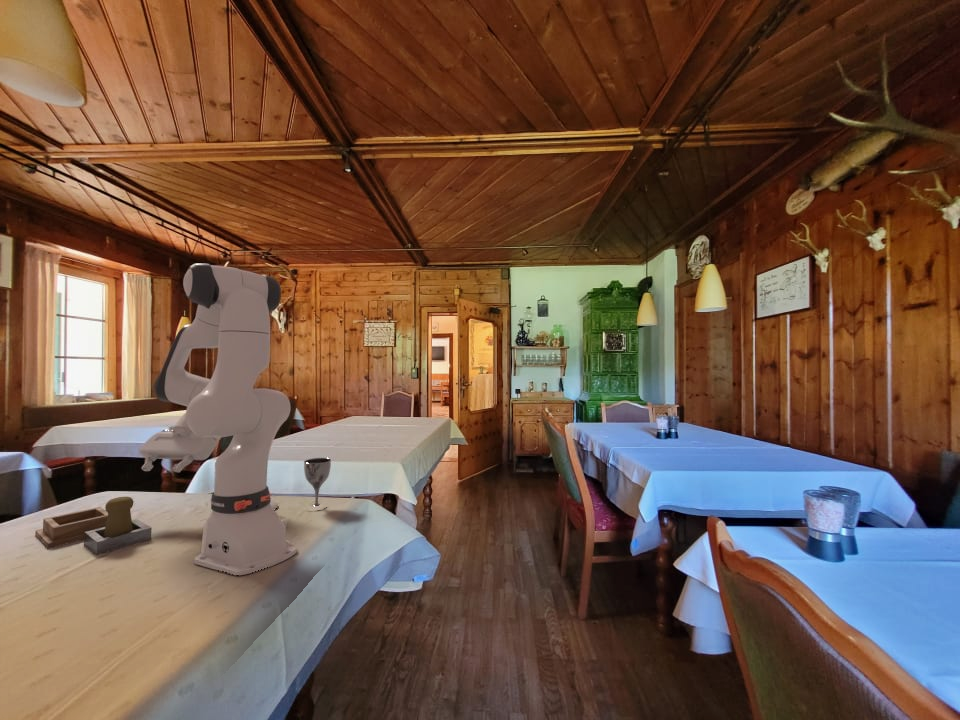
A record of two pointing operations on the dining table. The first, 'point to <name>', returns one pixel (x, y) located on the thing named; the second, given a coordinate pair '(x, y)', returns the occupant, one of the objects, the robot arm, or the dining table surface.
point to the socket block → (116, 538)
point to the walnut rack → (71, 526)
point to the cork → (118, 516)
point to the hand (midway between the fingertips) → (160, 470)
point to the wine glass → (317, 473)
